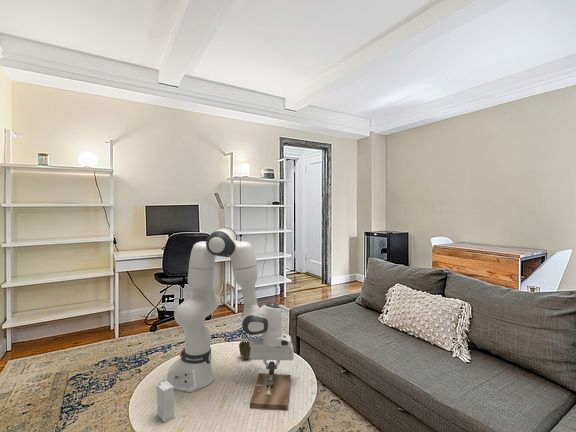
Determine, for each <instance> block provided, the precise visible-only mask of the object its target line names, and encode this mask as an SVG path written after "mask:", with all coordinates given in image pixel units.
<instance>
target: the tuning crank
mask: <svg viewBox="0 0 576 432" xmlns="http://www.w3.org/2000/svg"><path fill="white" fill-rule="evenodd" d="M268 364H269V369H268V374H270V378H269V380H267V387H268V395H269V394H270V388H272V387H273V380H272V378H273V374H275V369H274V364H275V362H274V361H273V360H270V361H269V362H268Z"/></svg>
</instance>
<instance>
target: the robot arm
mask: <svg viewBox="0 0 576 432" xmlns="http://www.w3.org/2000/svg"><path fill="white" fill-rule="evenodd" d="M216 257H221V258H222V257H223V258H229V259H230V262H231V269H232V274H233V278H234V280H235V283H236V284H237V285H238V286H239V287H240V289H241V292H242V299H243V309H242V310H241V311H242V312H241V318H242V319H241V320H242V321H241V324H242V326H241V327H242V330H243V332H244V333H245V334H246V335H249V336H255V335H261V334H262V338H252V339H250V340H249V341H250V342H249V346H250V348H251V349H250V357H249V359H250V360H251V361H252V360H253V361H255V360H256V361H257V360H258V361H263V363H264V365H265V369H266V370H269V362H268V361H276V363H274V370H278V366H279V364H280V362H281V361H293V360H294V357H295V355H294V354H295V353H294V345H293V342H292V337H291V335H289V334H286V333H284V332H282V323H283V315H282V308H281V307H280V305H278V304H277V303H274V302H266V303H265V302H264V304H263V305H262V306H260V305H259V303H258V298H257V293H256V283H257V280H258V265H257V264H258V263H257V257H256V254H255V251H254V248H253V245H252V244H251V243H250V242H248V241H244V240H243V241H238V236H237V234H236V232H235V231H234V230H233V229H232V228H230V227H221V228H218V229H216V230H214V231H213V232H212V233H210V234H209V235H208V237H207V239H206V241H198V242H195V244H193V246H192V248H191V252H190V256H189V262H188V272H187V284H188V286H190V287H191V290H192V296H191V297H190V298H188V299H185V300H184V301H182V302H181V303H180V304H179V305H177V307H176V308H175V309H174V313H173V317H174V319H175V322H176V324H178V325H179V326H180V327H182V330H183V333H184V347H183V348H182V350H181V352H180V354H179V358H178V359H177V360H176V361H174V362H173V363H172V364H171V365H170V367H169V368H168V370H167V374H165V375H164V377H163V378H162V380H161V383H162V382H164V381H168V382H169V383H170V384H171V385H172V386H174V390H176V391H182V392H185V393H186V392H187V393H192V392H195V391H196V390H200V389H202V388H204V387H207V386H209V385H211V383H212V382H213V380H214V378H215V377H214V374H213V370H212V363H211V361H212V347H211V331H210V329H209V328H207V327H206V325H205V320H206V318H207V317H208V316H211V315H213V313H214V312H215V311H216V309H217V308H218V307H219V305H220V299H219V298H220V297H219V296H218V295H217V294H216V293H215V289H214V288H215V287H214V274H215V265H216V264H215V261H216Z"/></svg>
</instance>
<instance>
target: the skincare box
mask: <svg viewBox="0 0 576 432" xmlns="http://www.w3.org/2000/svg"><path fill="white" fill-rule="evenodd" d="M156 405H157V408H156V409H157V416H158V417H159V418H160V419H161V420H162V422H163V423H167V422H169V421H170V420H173V419H174V418H175V417H176V416H175V389H174V386H172V385H171V384H170V383H169V382H168V381H164V382H162V381H161V382H160V383H157V384H156Z"/></svg>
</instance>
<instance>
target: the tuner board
mask: <svg viewBox="0 0 576 432" xmlns="http://www.w3.org/2000/svg"><path fill="white" fill-rule="evenodd" d="M291 375H292V374H281V373H274V374H273V378H272V380H273V387H272V388H270V394H269V395H268V387H267V380H269V378H270V374H269V373H265V372H264V373H263V372H262V373H261V372H259V373H258V375H257V378H256V382H255V386H254V388H253V392H252V395H251V399H250V402H249V408H250V409H257V410H258V409H259V410H260V409H261V410H277V411H278V410H279V411H289V410H288V409H289V398H290V397H289V396H290V392H291V391H290V390H291V389H290V388H291V380H292V378H291V377H292V376H291Z"/></svg>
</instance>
